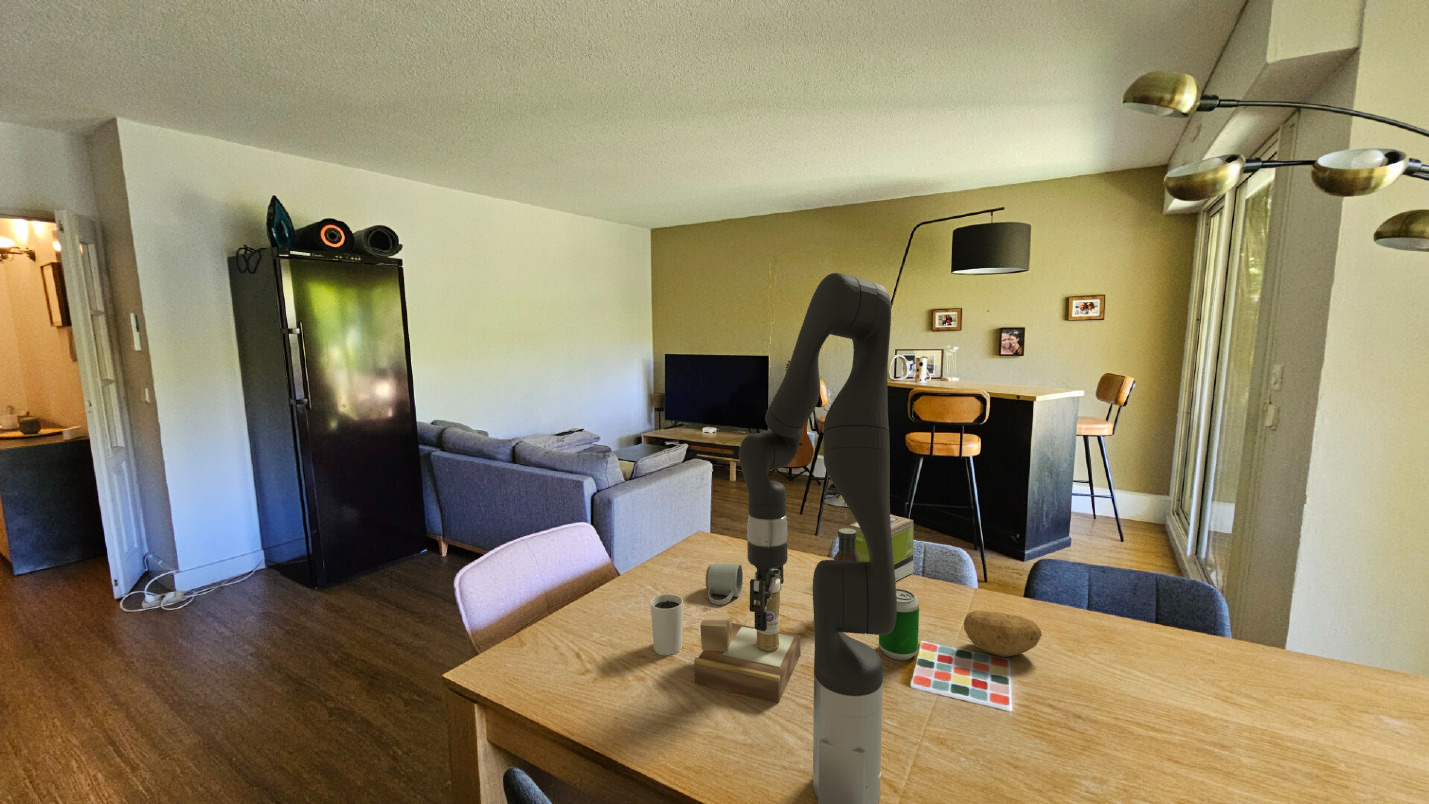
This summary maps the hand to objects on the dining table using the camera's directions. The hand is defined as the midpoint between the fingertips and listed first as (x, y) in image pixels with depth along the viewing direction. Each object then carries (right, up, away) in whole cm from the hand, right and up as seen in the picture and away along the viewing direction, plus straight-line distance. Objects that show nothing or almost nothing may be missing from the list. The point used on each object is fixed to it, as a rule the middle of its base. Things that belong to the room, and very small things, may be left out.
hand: (767, 618), depth 110 cm
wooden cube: (-10, -3, -1) cm, 11 cm away
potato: (+47, -9, +5) cm, 48 cm away
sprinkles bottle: (0, -6, +1) cm, 6 cm away
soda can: (+27, -9, +5) cm, 29 cm away
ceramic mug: (-8, -6, +31) cm, 32 cm away
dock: (-3, -10, 0) cm, 10 cm away
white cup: (-20, -9, +8) cm, 23 cm away
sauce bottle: (+20, -7, +20) cm, 29 cm away
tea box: (+34, -4, +41) cm, 53 cm away
